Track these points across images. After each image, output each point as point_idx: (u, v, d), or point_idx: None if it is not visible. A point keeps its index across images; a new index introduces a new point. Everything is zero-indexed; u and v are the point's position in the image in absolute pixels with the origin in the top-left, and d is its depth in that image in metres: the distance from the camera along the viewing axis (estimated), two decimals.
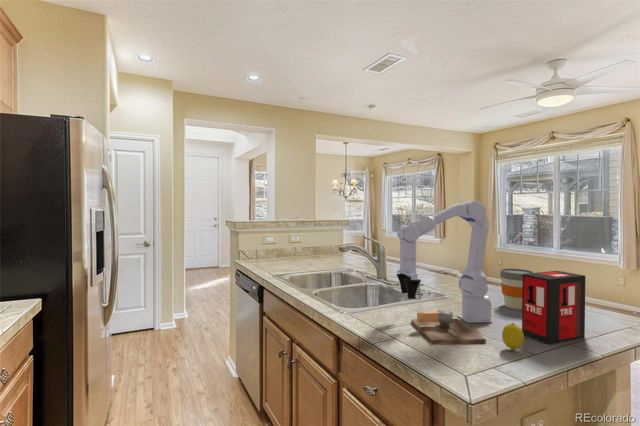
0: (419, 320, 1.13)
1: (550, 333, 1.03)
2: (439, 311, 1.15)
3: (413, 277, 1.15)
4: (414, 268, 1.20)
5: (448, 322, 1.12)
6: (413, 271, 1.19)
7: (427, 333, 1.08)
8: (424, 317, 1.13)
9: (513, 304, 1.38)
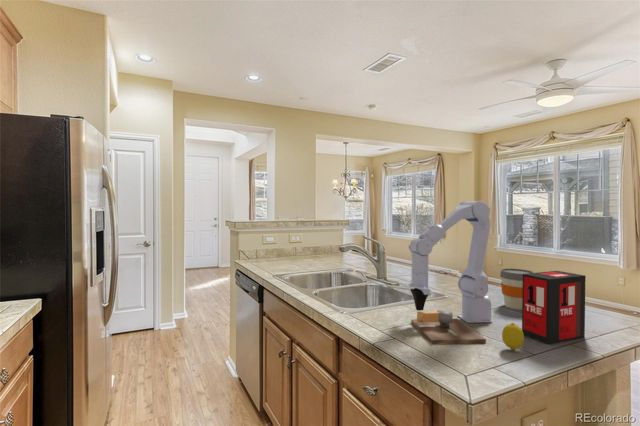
0: (419, 320, 1.13)
1: (550, 333, 1.03)
2: (439, 311, 1.15)
3: (426, 292, 1.13)
4: (426, 282, 1.18)
5: (448, 322, 1.12)
6: (425, 285, 1.17)
7: (427, 333, 1.08)
8: (424, 317, 1.13)
9: (513, 304, 1.38)
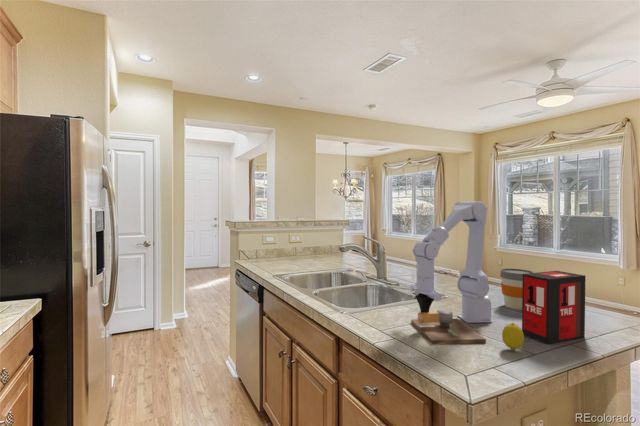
0: (420, 321, 1.12)
1: (550, 333, 1.03)
2: (439, 311, 1.15)
3: (437, 298, 1.08)
4: (433, 287, 1.13)
5: (449, 322, 1.12)
6: (432, 290, 1.13)
7: (427, 333, 1.08)
8: (425, 318, 1.13)
9: (513, 304, 1.38)
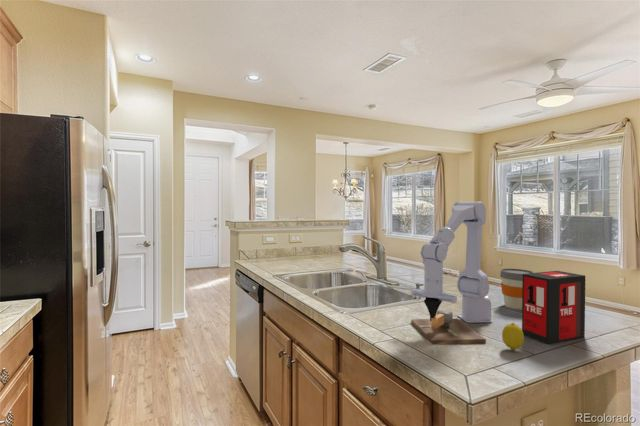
0: (436, 326, 1.07)
1: (550, 333, 1.03)
2: (440, 312, 1.14)
3: (455, 300, 1.05)
4: None
5: (452, 321, 1.13)
6: (442, 293, 1.09)
7: (427, 333, 1.08)
8: (438, 322, 1.08)
9: (513, 304, 1.38)
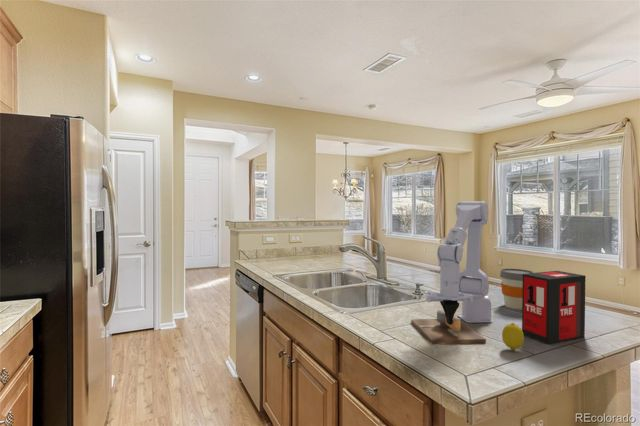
0: None
1: (550, 333, 1.03)
2: (443, 313, 1.13)
3: None
4: None
5: None
6: None
7: (427, 333, 1.08)
8: None
9: (513, 304, 1.38)
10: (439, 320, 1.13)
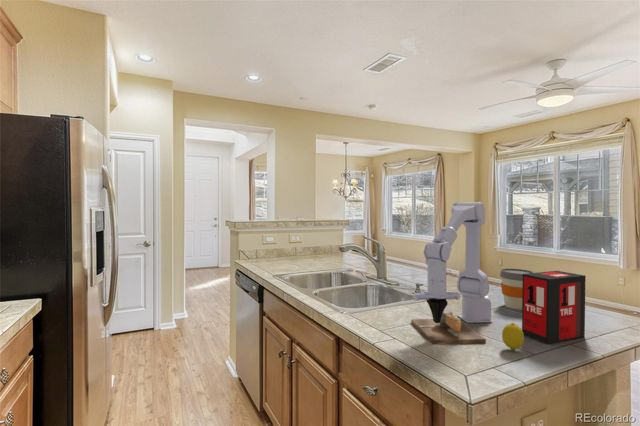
0: (460, 328, 1.06)
1: (550, 333, 1.03)
2: (443, 313, 1.13)
3: None
4: None
5: None
6: None
7: (427, 333, 1.08)
8: None
9: (513, 304, 1.38)
10: None
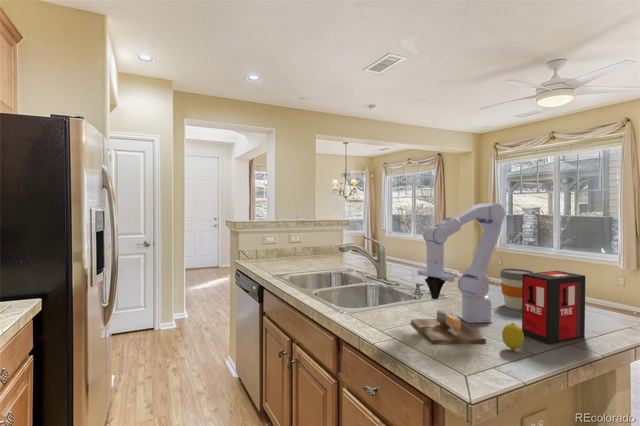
0: (460, 328, 1.06)
1: (550, 333, 1.03)
2: (443, 313, 1.13)
3: (452, 279, 1.13)
4: (443, 270, 1.18)
5: None
6: (443, 273, 1.18)
7: (427, 333, 1.08)
8: None
9: (513, 304, 1.38)
10: (439, 320, 1.13)
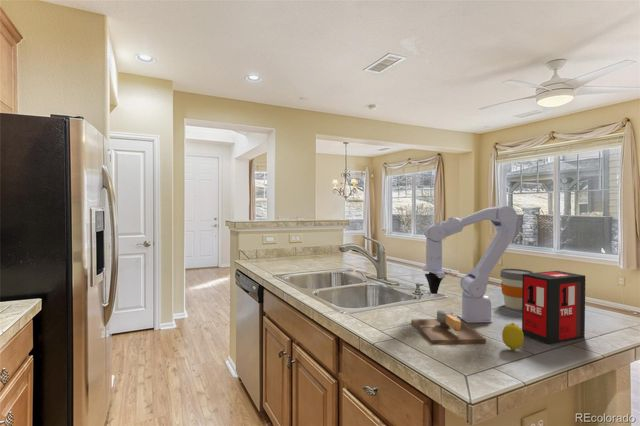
0: (460, 328, 1.06)
1: (550, 333, 1.03)
2: (443, 313, 1.13)
3: (440, 275, 1.19)
4: (440, 267, 1.24)
5: None
6: (439, 269, 1.24)
7: (427, 333, 1.08)
8: None
9: (513, 304, 1.38)
10: (439, 320, 1.13)
